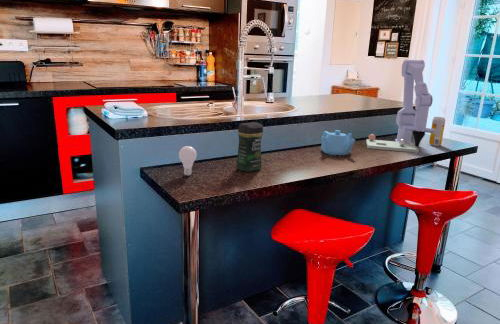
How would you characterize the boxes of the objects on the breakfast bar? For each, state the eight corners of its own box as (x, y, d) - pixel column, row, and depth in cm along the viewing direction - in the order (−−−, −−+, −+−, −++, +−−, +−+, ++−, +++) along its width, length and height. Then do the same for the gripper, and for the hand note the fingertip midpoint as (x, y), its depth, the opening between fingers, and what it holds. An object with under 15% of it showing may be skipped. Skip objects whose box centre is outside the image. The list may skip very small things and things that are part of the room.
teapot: (351, 150, 190) (354, 128, 187) (353, 157, 175) (356, 134, 173) (320, 148, 192) (322, 126, 190) (319, 155, 178) (321, 132, 175)
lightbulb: (179, 172, 144) (179, 144, 141) (197, 173, 144) (197, 144, 141) (178, 178, 138) (177, 148, 135) (196, 178, 138) (196, 148, 135)
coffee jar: (246, 173, 146) (248, 125, 141) (233, 169, 151) (234, 122, 146) (264, 169, 152) (267, 122, 147) (251, 165, 158) (252, 119, 153)
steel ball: (397, 144, 199) (398, 138, 198) (405, 145, 198) (406, 138, 197) (398, 146, 195) (399, 139, 194) (406, 146, 194) (407, 140, 194)
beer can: (438, 144, 211) (443, 116, 207) (442, 146, 205) (447, 118, 201) (427, 143, 212) (431, 116, 208) (431, 146, 206) (435, 118, 202)
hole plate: (366, 141, 210) (366, 139, 210) (413, 145, 205) (413, 143, 204) (367, 148, 195) (367, 145, 195) (418, 152, 190) (418, 149, 189)
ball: (368, 139, 209) (368, 133, 208) (374, 140, 208) (375, 133, 207) (368, 140, 206) (369, 134, 205) (375, 141, 205) (375, 134, 204)
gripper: (406, 119, 189) (402, 146, 193) (438, 121, 186) (433, 149, 189) (404, 117, 196) (400, 143, 199) (435, 119, 192) (430, 146, 196)
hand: (416, 146), depth 195 cm, fingers closed
